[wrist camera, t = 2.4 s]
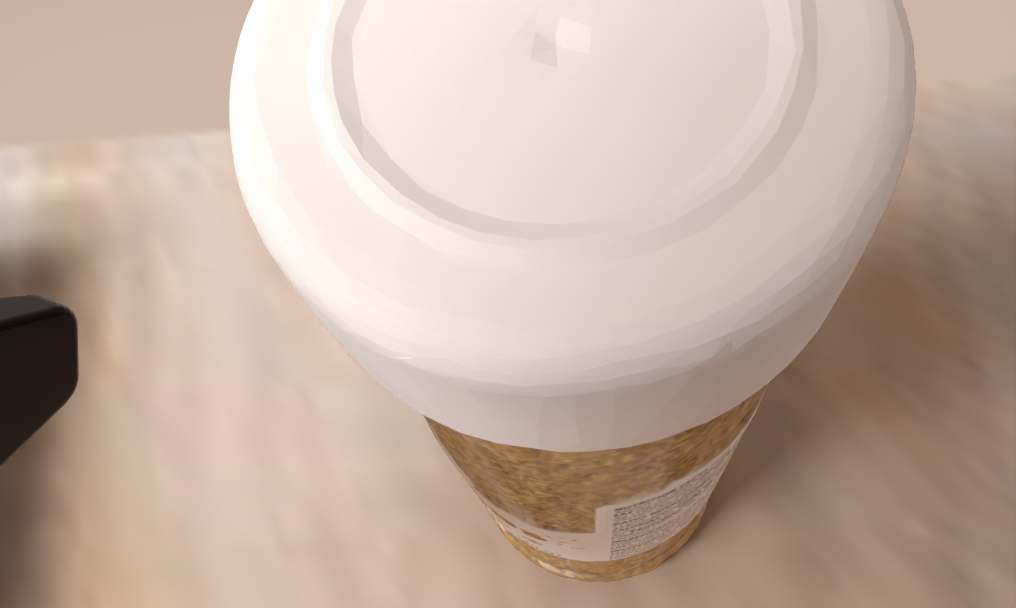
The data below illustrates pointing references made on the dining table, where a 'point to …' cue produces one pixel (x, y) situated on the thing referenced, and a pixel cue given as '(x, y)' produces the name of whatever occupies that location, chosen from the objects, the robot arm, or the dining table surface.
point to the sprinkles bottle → (574, 227)
